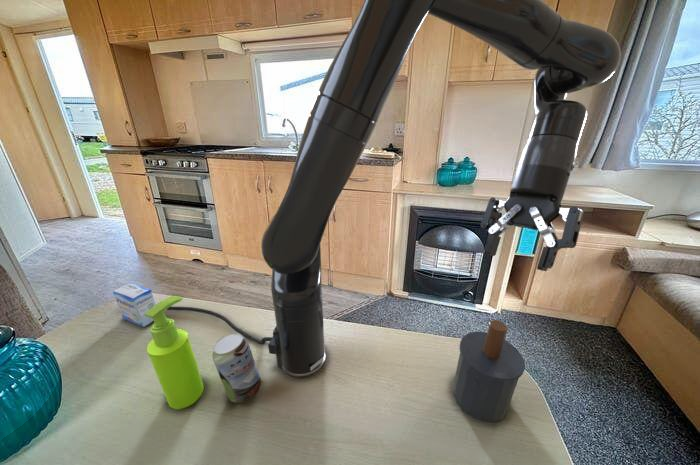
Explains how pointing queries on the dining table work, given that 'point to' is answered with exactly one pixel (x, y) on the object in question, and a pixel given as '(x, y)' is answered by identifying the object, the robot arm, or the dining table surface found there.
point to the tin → (481, 393)
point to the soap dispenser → (173, 358)
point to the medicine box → (135, 303)
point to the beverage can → (236, 367)
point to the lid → (492, 353)
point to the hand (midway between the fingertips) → (514, 262)
